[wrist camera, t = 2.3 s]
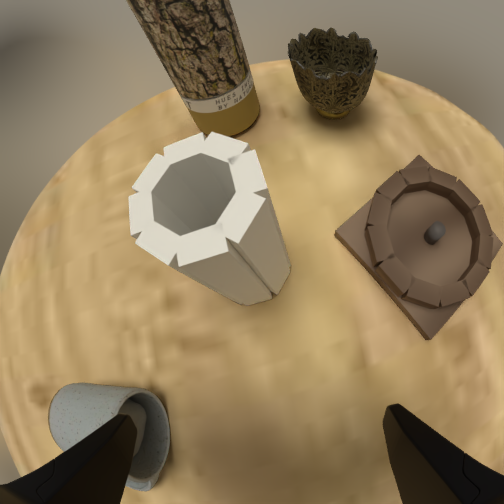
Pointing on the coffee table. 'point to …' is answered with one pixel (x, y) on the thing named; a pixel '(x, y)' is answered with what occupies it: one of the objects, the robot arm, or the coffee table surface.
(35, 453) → the coffee table surface
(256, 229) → the tube
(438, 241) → the holder
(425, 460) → the robot arm
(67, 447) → the ceramic mug
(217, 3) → the paper tube
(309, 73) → the cup
